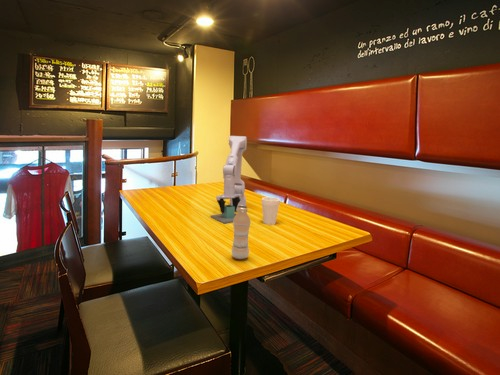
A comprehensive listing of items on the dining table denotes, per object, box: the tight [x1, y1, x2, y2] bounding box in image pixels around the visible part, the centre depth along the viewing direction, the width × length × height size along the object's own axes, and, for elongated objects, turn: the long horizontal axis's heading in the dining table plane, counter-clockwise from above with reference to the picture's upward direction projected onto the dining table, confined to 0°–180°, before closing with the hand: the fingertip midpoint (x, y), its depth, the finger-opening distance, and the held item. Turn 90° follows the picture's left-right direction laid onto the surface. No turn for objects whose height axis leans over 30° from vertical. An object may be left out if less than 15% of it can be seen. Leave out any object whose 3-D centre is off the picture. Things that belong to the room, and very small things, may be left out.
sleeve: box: [221, 204, 236, 219], centre depth 172 cm, size 5×5×6 cm
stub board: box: [209, 213, 237, 225], centre depth 173 cm, size 14×14×4 cm
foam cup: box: [261, 196, 281, 226], centre depth 167 cm, size 10×9×13 cm
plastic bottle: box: [231, 205, 252, 260], centre depth 119 cm, size 6×7×20 cm
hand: (228, 211), depth 172 cm, fingers open, 7 cm apart
